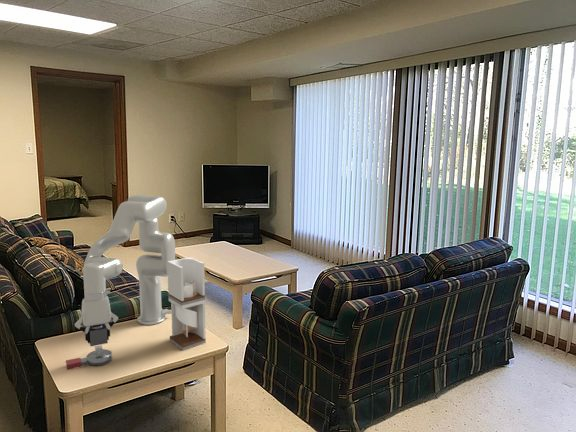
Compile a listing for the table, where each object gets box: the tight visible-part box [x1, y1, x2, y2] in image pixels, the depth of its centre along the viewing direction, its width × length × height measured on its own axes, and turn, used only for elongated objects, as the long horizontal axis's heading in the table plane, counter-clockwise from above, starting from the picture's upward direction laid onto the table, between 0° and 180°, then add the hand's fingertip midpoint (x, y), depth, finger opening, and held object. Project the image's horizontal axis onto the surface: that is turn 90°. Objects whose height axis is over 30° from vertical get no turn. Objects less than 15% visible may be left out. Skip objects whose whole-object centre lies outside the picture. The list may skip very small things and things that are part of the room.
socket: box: [89, 324, 108, 347], centre depth 175 cm, size 6×6×7 cm
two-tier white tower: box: [167, 256, 207, 351], centre depth 191 cm, size 11×11×35 cm
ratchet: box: [65, 344, 113, 371], centre depth 175 cm, size 16×9×6 cm, turn 120°
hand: (97, 339), depth 176 cm, fingers closed on socket, 6 cm apart
